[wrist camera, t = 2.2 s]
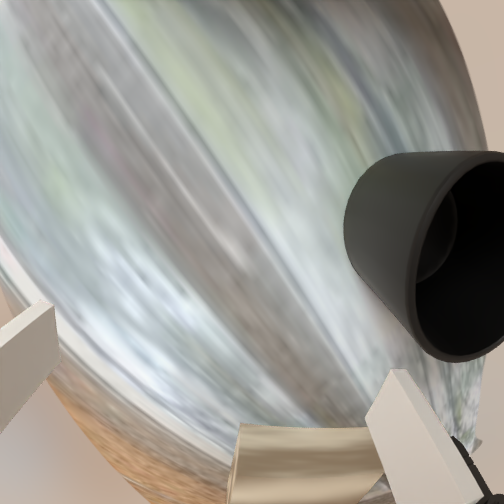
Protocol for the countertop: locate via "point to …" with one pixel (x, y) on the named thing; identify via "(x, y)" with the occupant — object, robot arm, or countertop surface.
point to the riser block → (302, 465)
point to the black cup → (434, 246)
